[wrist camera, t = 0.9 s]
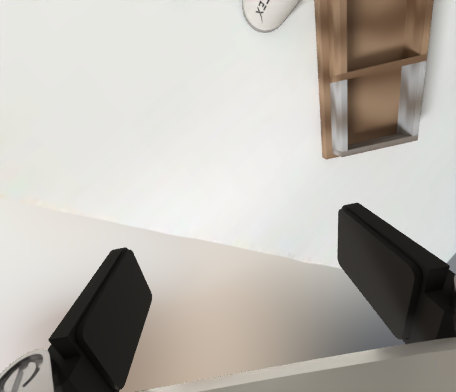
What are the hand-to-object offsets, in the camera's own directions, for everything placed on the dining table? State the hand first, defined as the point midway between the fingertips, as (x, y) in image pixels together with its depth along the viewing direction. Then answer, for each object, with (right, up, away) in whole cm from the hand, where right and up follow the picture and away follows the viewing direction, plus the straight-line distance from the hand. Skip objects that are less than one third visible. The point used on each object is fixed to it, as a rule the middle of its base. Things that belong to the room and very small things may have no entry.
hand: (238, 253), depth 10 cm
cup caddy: (+19, +21, +22) cm, 36 cm away
